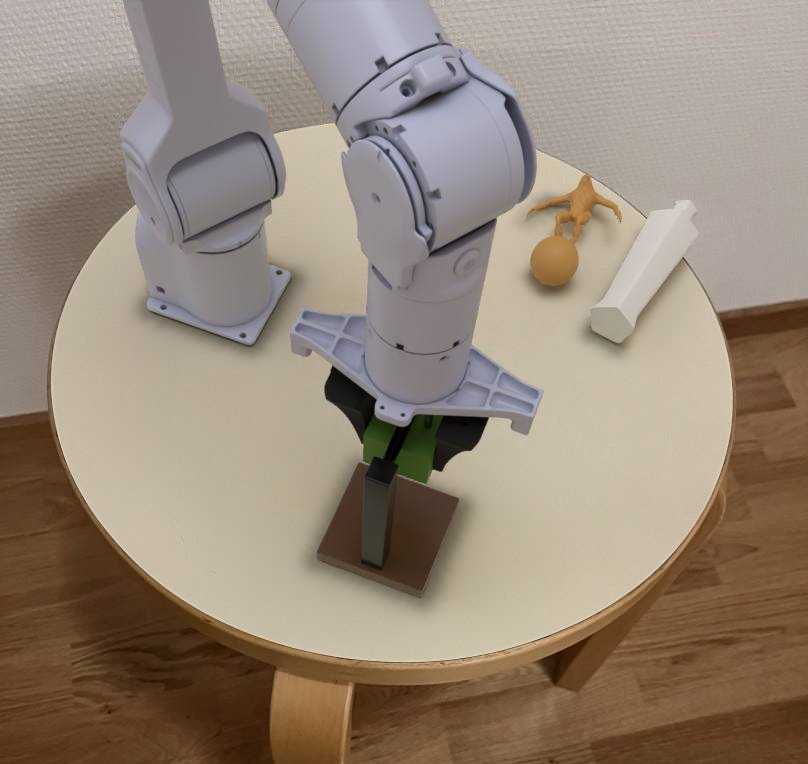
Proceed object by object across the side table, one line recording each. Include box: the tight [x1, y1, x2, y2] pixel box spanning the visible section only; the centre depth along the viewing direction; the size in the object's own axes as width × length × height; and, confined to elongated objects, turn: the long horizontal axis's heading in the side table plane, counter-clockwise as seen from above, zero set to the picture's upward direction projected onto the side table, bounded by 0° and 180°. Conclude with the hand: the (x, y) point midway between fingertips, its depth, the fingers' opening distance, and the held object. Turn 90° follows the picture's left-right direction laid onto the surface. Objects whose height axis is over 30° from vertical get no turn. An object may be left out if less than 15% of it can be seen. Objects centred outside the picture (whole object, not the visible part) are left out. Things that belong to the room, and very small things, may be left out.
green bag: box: [362, 412, 443, 485], centre depth 56 cm, size 4×4×5 cm
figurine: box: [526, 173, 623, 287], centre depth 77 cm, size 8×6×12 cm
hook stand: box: [316, 415, 460, 598], centre depth 60 cm, size 8×9×14 cm
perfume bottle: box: [590, 199, 700, 344], centre depth 76 cm, size 5×4×15 cm
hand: (405, 445), depth 58 cm, fingers closed on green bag, 4 cm apart
